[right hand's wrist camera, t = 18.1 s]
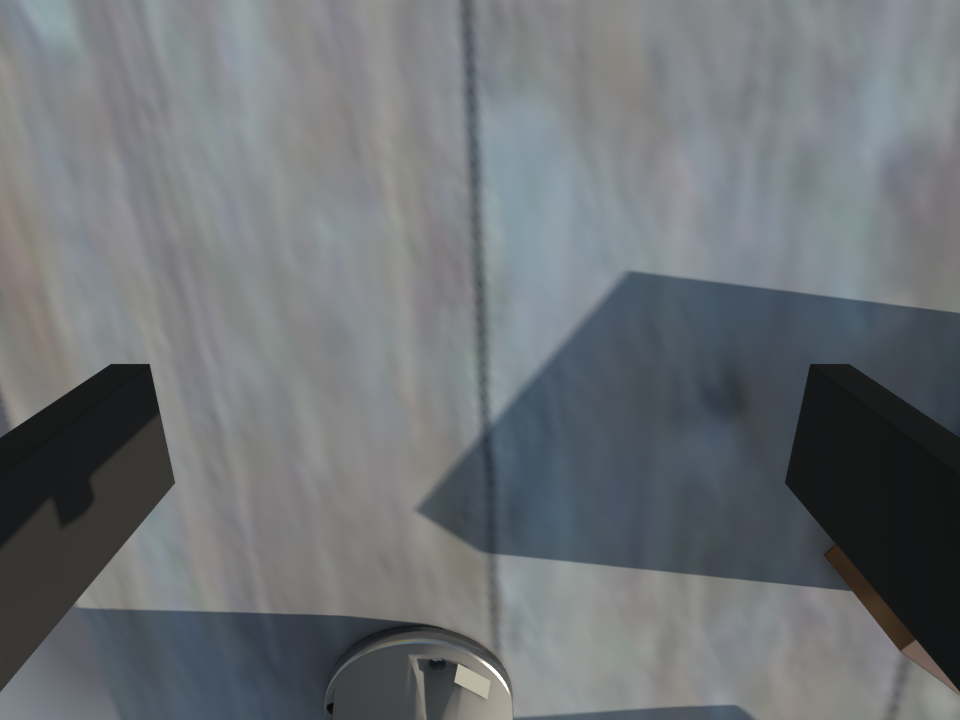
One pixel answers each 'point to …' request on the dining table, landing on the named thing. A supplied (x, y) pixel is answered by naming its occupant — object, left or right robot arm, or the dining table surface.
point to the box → (884, 615)
